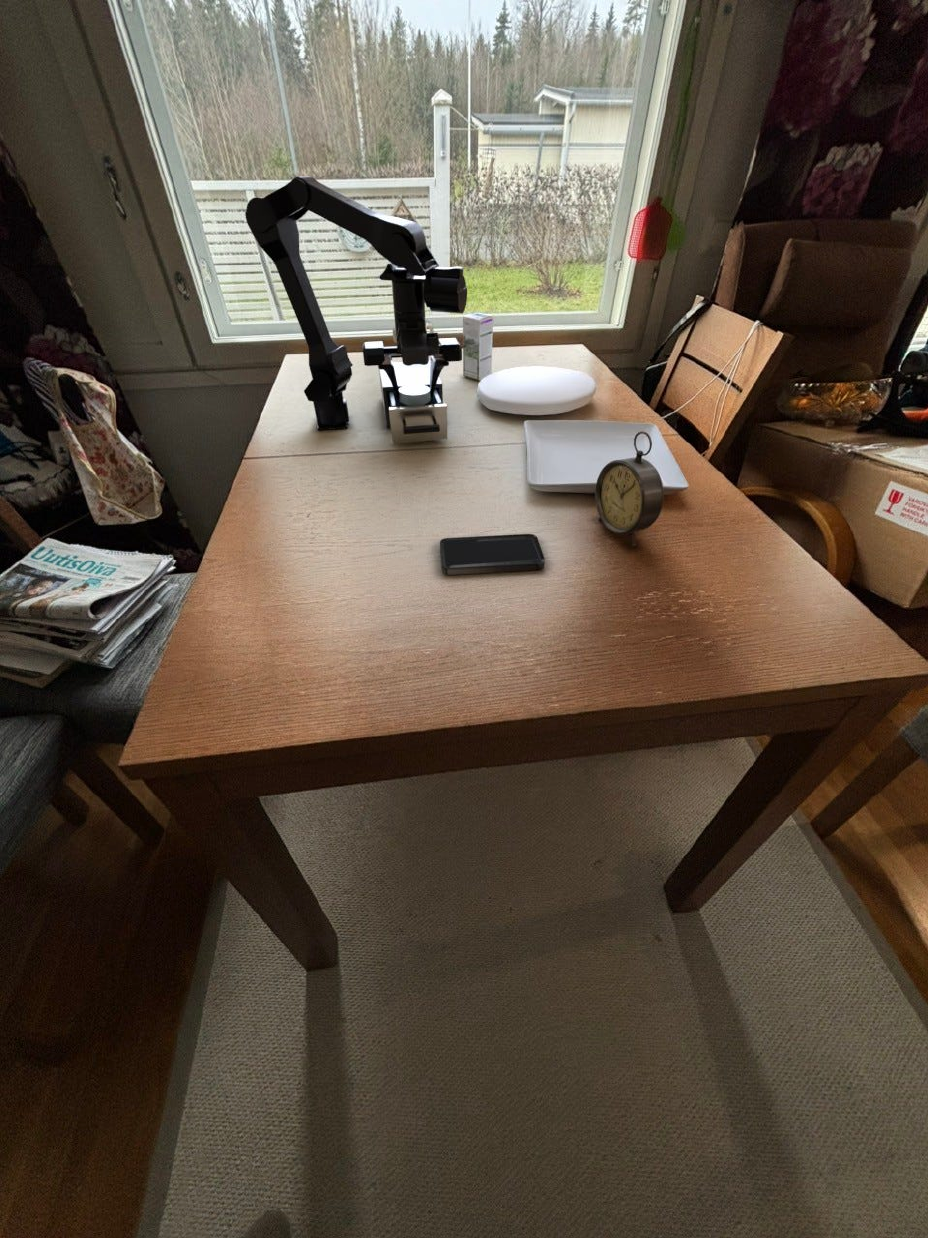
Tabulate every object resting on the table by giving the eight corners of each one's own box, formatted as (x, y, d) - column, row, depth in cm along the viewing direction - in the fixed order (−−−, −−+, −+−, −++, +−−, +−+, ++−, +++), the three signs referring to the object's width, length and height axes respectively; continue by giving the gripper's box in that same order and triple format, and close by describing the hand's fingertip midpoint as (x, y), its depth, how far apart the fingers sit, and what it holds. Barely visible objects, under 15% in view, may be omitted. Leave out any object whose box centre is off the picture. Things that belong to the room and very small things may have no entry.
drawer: (451, 449, 100) (450, 415, 96) (394, 453, 99) (390, 419, 94) (437, 411, 115) (436, 379, 110) (387, 414, 114) (384, 382, 109)
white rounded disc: (471, 399, 110) (480, 362, 129) (474, 428, 114) (482, 389, 134) (603, 389, 106) (592, 353, 125) (600, 420, 110) (590, 380, 130)
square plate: (521, 436, 107) (523, 417, 105) (651, 439, 106) (656, 421, 103) (526, 500, 87) (528, 480, 85) (685, 505, 86) (692, 485, 84)
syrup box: (492, 375, 136) (494, 314, 126) (478, 381, 132) (479, 318, 123) (476, 371, 138) (477, 310, 128) (462, 376, 135) (461, 315, 125)
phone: (546, 563, 72) (442, 568, 71) (545, 569, 73) (442, 575, 72) (535, 532, 78) (439, 537, 77) (535, 539, 79) (439, 543, 78)
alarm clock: (587, 518, 83) (606, 421, 72) (613, 511, 85) (636, 415, 74) (628, 554, 76) (657, 451, 65) (657, 545, 78) (689, 444, 67)
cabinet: (443, 424, 112) (442, 383, 106) (386, 428, 110) (382, 387, 104) (433, 397, 124) (432, 359, 118) (382, 400, 122) (378, 362, 116)
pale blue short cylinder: (401, 409, 100) (400, 396, 99) (398, 398, 105) (397, 385, 103) (432, 407, 101) (432, 394, 100) (428, 396, 106) (428, 383, 104)
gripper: (359, 322, 85) (370, 415, 96) (467, 318, 87) (467, 409, 98) (357, 307, 93) (368, 394, 104) (456, 303, 95) (457, 389, 106)
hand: (414, 397), depth 103 cm, fingers closed on pale blue short cylinder, 6 cm apart
